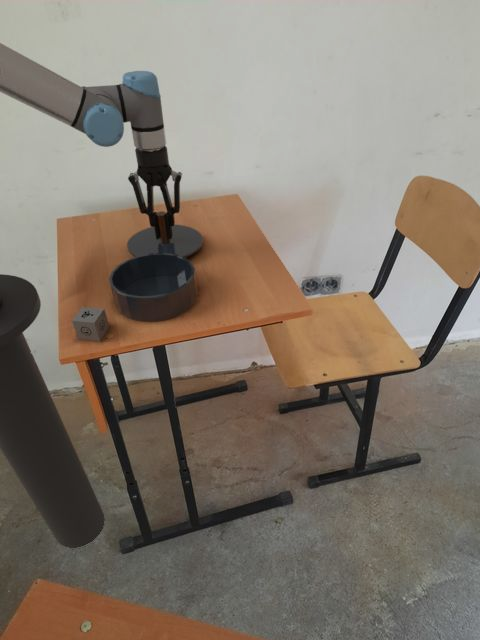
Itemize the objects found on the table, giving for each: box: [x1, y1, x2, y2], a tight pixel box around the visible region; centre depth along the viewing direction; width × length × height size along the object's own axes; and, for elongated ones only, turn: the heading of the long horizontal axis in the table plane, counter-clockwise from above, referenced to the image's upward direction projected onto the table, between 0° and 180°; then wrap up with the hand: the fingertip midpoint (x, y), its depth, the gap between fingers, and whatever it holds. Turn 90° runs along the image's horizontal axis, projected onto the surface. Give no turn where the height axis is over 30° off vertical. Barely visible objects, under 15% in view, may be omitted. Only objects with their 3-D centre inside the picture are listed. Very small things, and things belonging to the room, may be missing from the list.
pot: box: [108, 253, 199, 323], centre depth 111 cm, size 19×19×6 cm
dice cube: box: [71, 306, 110, 342], centre depth 101 cm, size 5×5×5 cm
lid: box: [126, 211, 204, 258], centre depth 126 cm, size 20×20×9 cm
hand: (164, 236), depth 128 cm, fingers closed on lid, 3 cm apart
